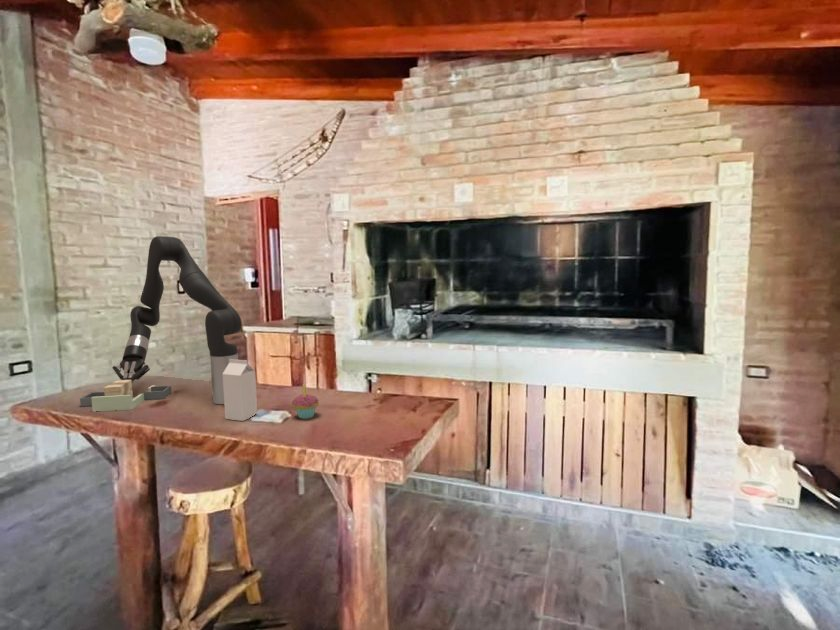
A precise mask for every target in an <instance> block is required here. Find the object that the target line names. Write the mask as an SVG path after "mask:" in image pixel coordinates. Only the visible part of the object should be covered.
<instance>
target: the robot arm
mask: <svg viewBox="0 0 840 630" xmlns="http://www.w3.org/2000/svg"><path fill="white" fill-rule="evenodd" d="M148 248H149V249H148V254H147V255H148V256H147V264H146V275H145V281H144V285H143V288H142V291H141V294H140V303H141V304H143V306H141V305H136V306H134V307H133V308H131V311H130V323H131V325H130V326H131V327H130V329H131V330H130V332H129V333H130V334H129V336H128V339H127V342H126V345H125V348H124V352H123V355H122V359H121V361H120V362H119V365H117V366H115V365H114V366H112V370H113V371H114V373H115V374H116V375H117V377H118V378H119V379H120V380H132V384H133V383H134V382H135V380H136V381H138V380H140V379H141V378H142V377H143V376H144V375H146V374H147V373H148V372H149V371H150V370H151V368H150V367H149V365H148V364H146V363H145V361H146V358H147V354H148V351H149V343H150V339H151V336H152V335H151V334H152V330H151V328H150V327H155V326H157V325H158V324H159V322H160V320H161V315H160V304H161V300H162V296H163V294H164V293H163V292H164V288H165V286H164V281H163V278H162V275H161V274H160V265H161V263H162V262H163V261H167V262H174V263H176V264H177V265H178V267H179V268H180V272H179V279H178V281H179V284H180V286H181V288H182V289H183V291H184V292H185V293H186V294H187V297H189V298H190V299H191V300H193V301H195V302H196V303H198V304H200V305H202V306H204V307H206V308H208V309H209V310H210V311H208V312H207V314H206V315H205V319H204V322H205V323H204V324H205V334H206V342H207V343H206V344H207V348H208V350H209V360H210V374H211V388H212V389H211V390H212V402H213V404H215V405H224V389H223V372H224V371H225V369H226V367H227V366H228V364H229V359H234V360H239V356H238V355H239V354H238V347H237V345H236V344H233V343H229V342H227V341H225V339H226V338H225V336H227V335H228V336H229V335H234V334H236V333H239V332H240V331H241V329H242V327H243V326H242V319H241V317H240V315H239V313H238V312H237V310H236V309H235V308H234V307H233V306H232V305H231V303H229V302H228V301H227V300H226V299H225V298H224V297H223V296H222V295H221V293H220V292H219V291H218V290H217V289H216V287H215V286H214V285H213V283H212V282H211V281H210V280H209V279H210V278H208V277H207V276H206V274H205V273H204V272H203V271H202V270H201V268H200V267H199V266H198V264H197V262H196V261H195V260H194V259H193V257H192V256H191V254H190V252H189V250H188V248H187V246H186V245H185V244H184V242H183V241H182V240H181V239H180V238H178V237H175V236H162V235H158V236H157V235H156V236H154V237H153V238H152V239H151V241H150V243H149V247H148ZM122 370H123V374H122V373H121V371H122Z"/></svg>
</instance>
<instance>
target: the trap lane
mask: <svg viewBox="0 0 840 630" xmlns="http://www.w3.org/2000/svg"><path fill="white" fill-rule="evenodd" d="M147 389H148V391H143V393H139V394H138V395H136V396H135V397H133V399H132V395H115V396H105V393H104V391H93V392H89V393H88V394H86V395H84V396H82V397H80V398H79V402H80V407H81V408H83V407H85V406H87V407H91V408H92V413H93V412H94V413H96V411H100V412H114V411H115V410H117V411H129V410H133V409H135V408H136V407H138V406H139V405H140V404H141V403H143V402H144V401H154V400H155V401H156V400H165V399H166V397H167V396H168V395H169V396H170V395H172V385H158V386H156V385H154V384H153V385H152V384H151V386H149V387H147ZM169 396H168V397H169ZM168 397H167V398H168ZM85 408H86V407H85Z"/></svg>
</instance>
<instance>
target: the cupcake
mask: <svg viewBox="0 0 840 630" xmlns="http://www.w3.org/2000/svg"><path fill="white" fill-rule="evenodd" d="M302 391H303V394H300V395H298V396H296V397H295V398H294V399H293V400H292V401H291V406H292V408H293V409H295V411H296V413H297V416H298V418H300V419H302V420H305V419H306V420H307V419H311V418H313V417H314V416H315V412H316V409H317V407H318V406H319V399H318V397H317V396H313V395H312V394H307V393H306V383H305V382H304V381H303V384H302Z"/></svg>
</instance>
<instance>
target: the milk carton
mask: <svg viewBox="0 0 840 630" xmlns="http://www.w3.org/2000/svg"><path fill="white" fill-rule="evenodd" d="M248 362H249V361H248V360H245V359H244V360H243V359H238V360H234V359H229V364H228V366H227V367H226V369H225V371H224V372H223V389H224V404H223V405H224V418H225V420H232V421H240V422H243V421H244V422H245V421H246V420H248V419H251V418H253V417H255V416H256V415H255V414H257V415H258V401H257V382H256V381H257V379H256V370H255V369H254V368H253V367H252V366H251V365H250V364H249V363H248ZM254 415H255V416H254ZM252 416H253V417H252ZM250 417H251V418H250Z"/></svg>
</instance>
